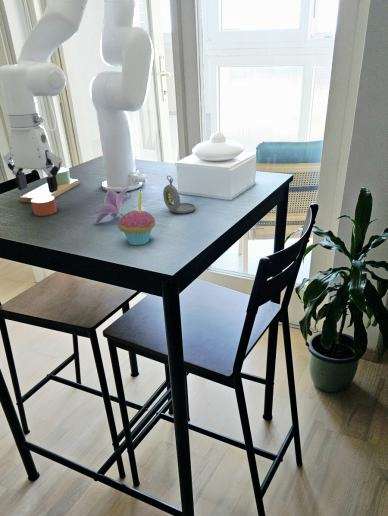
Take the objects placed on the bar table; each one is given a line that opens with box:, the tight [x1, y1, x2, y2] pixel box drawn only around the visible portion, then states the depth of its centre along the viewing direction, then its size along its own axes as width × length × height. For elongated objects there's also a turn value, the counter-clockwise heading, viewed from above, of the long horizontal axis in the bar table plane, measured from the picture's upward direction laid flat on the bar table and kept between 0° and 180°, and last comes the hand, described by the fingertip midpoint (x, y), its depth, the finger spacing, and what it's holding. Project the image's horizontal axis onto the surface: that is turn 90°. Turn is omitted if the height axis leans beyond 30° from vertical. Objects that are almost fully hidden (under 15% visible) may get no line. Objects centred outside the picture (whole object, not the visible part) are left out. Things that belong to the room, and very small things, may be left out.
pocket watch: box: [162, 175, 196, 214], centre depth 127 cm, size 8×8×10 cm
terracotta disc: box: [30, 196, 58, 217], centre depth 133 cm, size 6×6×4 cm
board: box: [19, 178, 80, 204], centre depth 148 cm, size 8×20×2 cm, turn 161°
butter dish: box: [174, 131, 257, 201], centre depth 141 cm, size 18×18×16 cm
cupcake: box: [118, 188, 156, 246], centre depth 110 cm, size 9×8×12 cm
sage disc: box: [56, 167, 72, 185], centre depth 152 cm, size 6×6×4 cm
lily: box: [94, 187, 132, 225], centre depth 122 cm, size 12×12×10 cm
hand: (38, 190), depth 130 cm, fingers open, 9 cm apart
